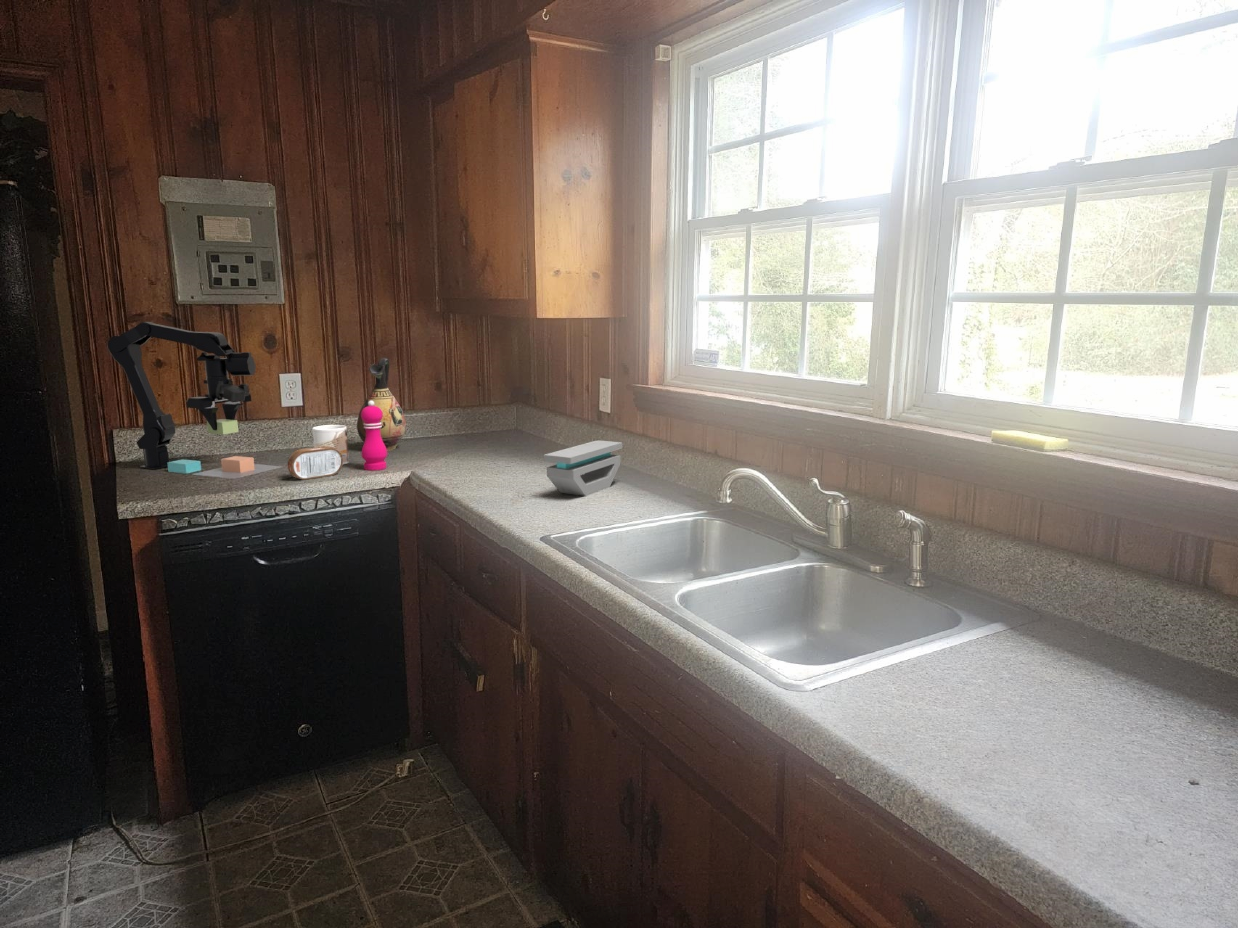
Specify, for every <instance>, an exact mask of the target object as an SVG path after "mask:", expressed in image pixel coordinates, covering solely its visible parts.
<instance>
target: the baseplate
mask: <svg viewBox="0 0 1238 928" xmlns="http://www.w3.org/2000/svg"><path fill="white" fill-rule="evenodd" d="M280 468H283V465H280V466H279V465H269V464H258V463H254V469H255V470H251V471H247V472H242V473H236V472H226V471H222V467H218V468H217V467H216V468H213V469H209V470H205V471H200V472H199V471H198V472H196V473H195V472H194V473H191V475H194V476H204V477H212V478H221V479H222V478H223V479H231V480H232V479H233V480H235V479H239V478H242V477H247V476H251V475H255V474H256V475H257V474H259V473H263V472H268V471H272V470H277V469H280Z"/></svg>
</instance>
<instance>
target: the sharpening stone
mask: <svg viewBox="0 0 1238 928" xmlns="http://www.w3.org/2000/svg"><path fill="white" fill-rule="evenodd" d="M621 449H623V442H620V441H609V440H608V441H607V440H598V439H597V440H593V441H589V442H587V443H582V444H578V445H575V446H570V447H567V448H565V449H564V448H563V449H559V450H556V451H553V452H548V453H546V454H543V461H544V462H549V463H555V464H553V465H550V466H547V467H546V477H547V478H548V480H549V481H551V483H552V485H553V486H554V487H555V488H556V489H557V491H559V493H560V494H569V495H574V496H575V495H576V496H583V497H589V496H590V495H593V494H595V493H598V492H600V491H603V490H606V489H609V488H611V485H612V483H613V481H614V480H615V479H614V478H615V477H616V474H617V472H618V470H619V468H620V466H621V455H619V454H612V453H613V452H615V451H617V450H621Z"/></svg>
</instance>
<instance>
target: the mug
mask: <svg viewBox="0 0 1238 928" xmlns="http://www.w3.org/2000/svg"><path fill="white" fill-rule="evenodd" d="M347 427H348V426H347V425H343V424H326V425H325V424H324V425H317V426H313V427H312V429H311V430H312V431H311V432H312V442H313V445H312V446H313V448H315V447H324V446H330V447H333V448H335V449H337V450H338V451H339V452H340V453H341V454H342V457H343V465H346V464H349V463H350V457H349V440H348V428H347Z"/></svg>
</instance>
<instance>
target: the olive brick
mask: <svg viewBox="0 0 1238 928" xmlns="http://www.w3.org/2000/svg"><path fill="white" fill-rule="evenodd" d="M238 425H239V423H238V420H237V419H234V420H228V419H226V418H219V419H218V418H217V430H213V429H212V427H211V426H210V424H209V423H208V421H207V420H206V428H207V433H208V434H215V435H228V434H233V433H235V434H236V433H239V427H238Z"/></svg>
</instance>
